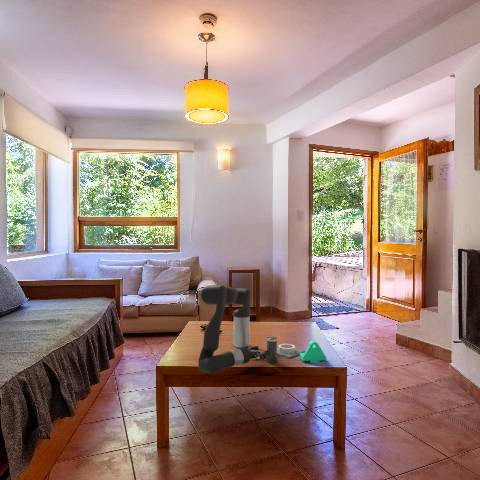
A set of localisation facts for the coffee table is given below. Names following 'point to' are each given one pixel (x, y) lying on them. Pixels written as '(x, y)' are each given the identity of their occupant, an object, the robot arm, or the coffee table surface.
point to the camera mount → (313, 353)
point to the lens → (272, 349)
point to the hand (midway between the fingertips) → (263, 350)
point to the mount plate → (297, 352)
